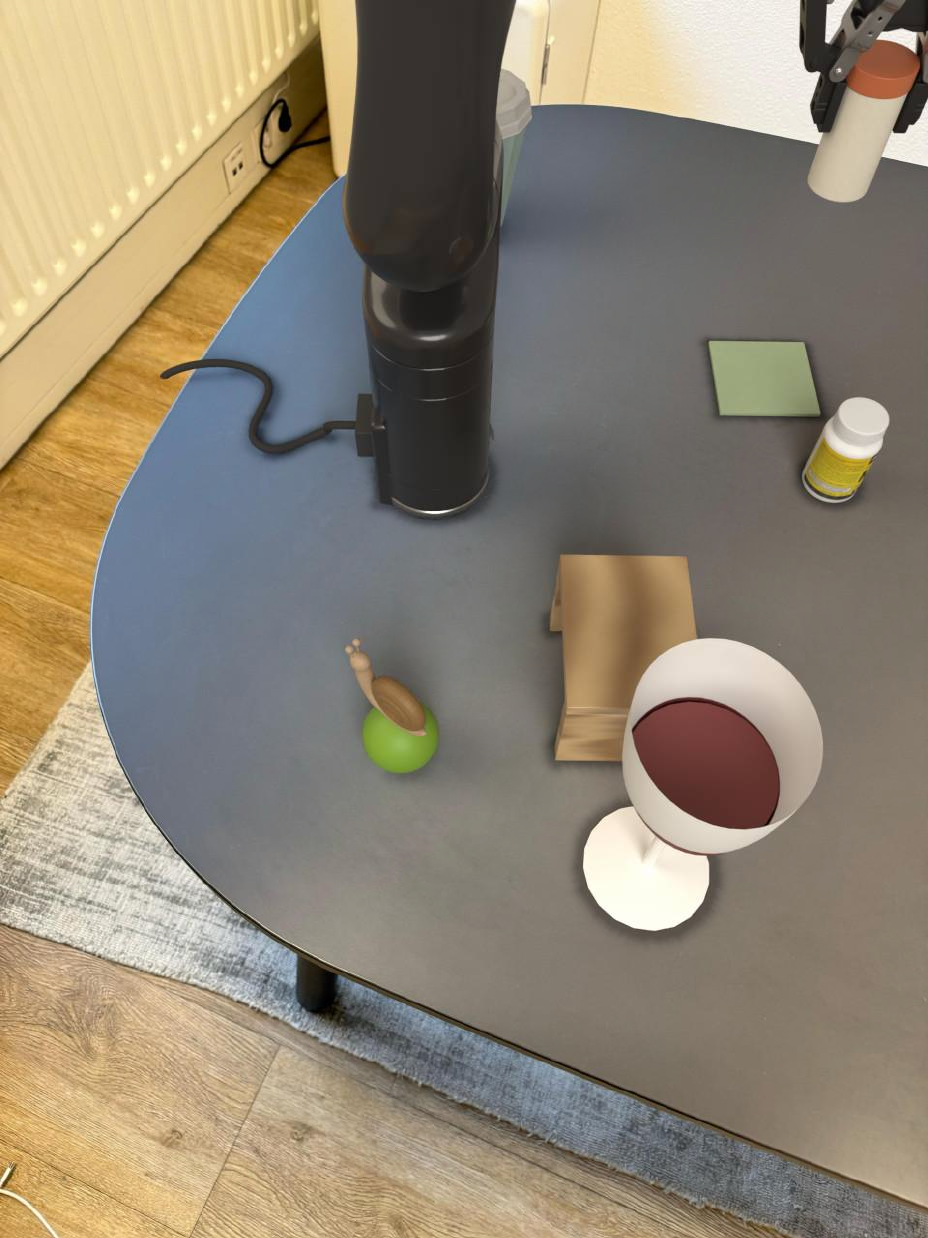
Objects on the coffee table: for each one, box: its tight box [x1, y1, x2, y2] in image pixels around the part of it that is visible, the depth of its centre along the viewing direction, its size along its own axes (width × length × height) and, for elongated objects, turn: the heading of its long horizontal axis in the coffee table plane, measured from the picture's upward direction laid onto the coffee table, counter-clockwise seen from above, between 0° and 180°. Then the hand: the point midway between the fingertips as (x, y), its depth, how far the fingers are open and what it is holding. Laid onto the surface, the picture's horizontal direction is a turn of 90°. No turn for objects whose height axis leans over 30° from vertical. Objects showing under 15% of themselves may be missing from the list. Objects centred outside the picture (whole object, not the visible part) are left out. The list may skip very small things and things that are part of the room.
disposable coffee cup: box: [496, 68, 533, 228], centre depth 94 cm, size 11×11×15 cm
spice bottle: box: [807, 39, 920, 203], centre depth 68 cm, size 5×5×9 cm
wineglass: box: [582, 637, 824, 932], centre depth 57 cm, size 9×10×23 cm
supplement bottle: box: [801, 396, 890, 504], centre depth 80 cm, size 5×5×8 cm
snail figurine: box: [344, 637, 440, 774], centre depth 66 cm, size 5×6×12 cm
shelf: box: [549, 554, 698, 762], centre depth 69 cm, size 9×12×9 cm
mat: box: [707, 340, 821, 418], centre depth 89 cm, size 9×9×1 cm
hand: (858, 125), depth 68 cm, fingers closed on spice bottle, 4 cm apart
